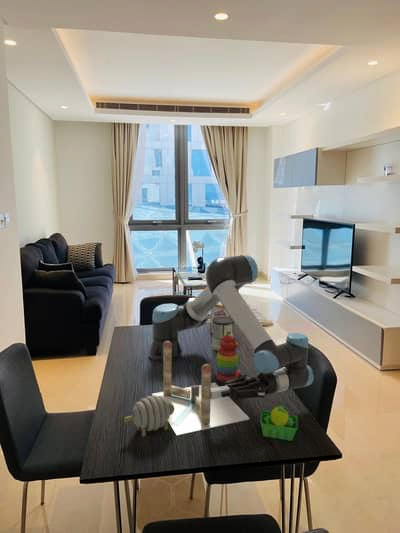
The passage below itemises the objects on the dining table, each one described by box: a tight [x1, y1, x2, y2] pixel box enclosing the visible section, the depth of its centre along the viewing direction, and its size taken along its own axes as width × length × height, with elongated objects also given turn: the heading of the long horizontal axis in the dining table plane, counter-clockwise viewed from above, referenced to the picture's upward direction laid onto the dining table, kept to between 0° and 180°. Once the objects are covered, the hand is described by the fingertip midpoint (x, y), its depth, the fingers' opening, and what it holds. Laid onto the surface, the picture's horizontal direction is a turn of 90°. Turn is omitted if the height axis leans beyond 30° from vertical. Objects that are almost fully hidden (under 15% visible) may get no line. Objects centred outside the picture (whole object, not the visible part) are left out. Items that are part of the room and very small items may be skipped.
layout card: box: [151, 382, 251, 437], centre depth 146 cm, size 28×26×1 cm
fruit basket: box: [259, 405, 299, 441], centre depth 129 cm, size 11×9×11 cm
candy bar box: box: [209, 302, 231, 334], centre depth 218 cm, size 11×5×16 cm, turn 66°
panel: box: [195, 363, 213, 425], centre depth 137 cm, size 14×3×20 cm, turn 14°
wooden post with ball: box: [162, 341, 199, 403], centre depth 149 cm, size 15×3×21 cm, turn 66°
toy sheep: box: [123, 395, 174, 438], centre depth 130 cm, size 11×17×11 cm, turn 125°
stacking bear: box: [215, 334, 242, 383], centre depth 167 cm, size 11×10×18 cm
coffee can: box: [211, 317, 234, 352], centre depth 199 cm, size 10×10×14 cm
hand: (210, 394), depth 133 cm, fingers closed
